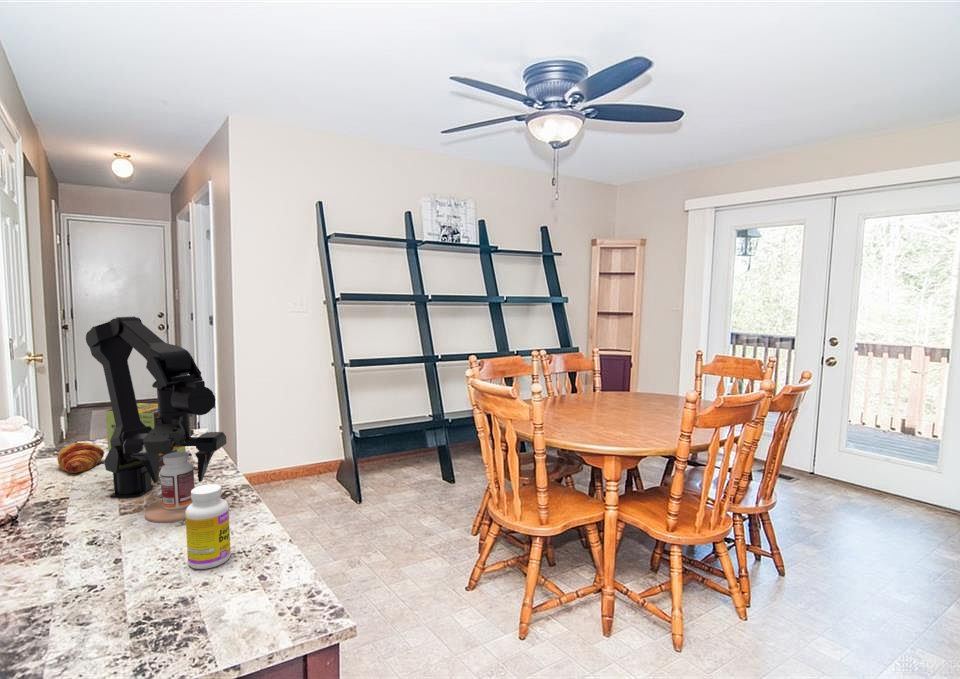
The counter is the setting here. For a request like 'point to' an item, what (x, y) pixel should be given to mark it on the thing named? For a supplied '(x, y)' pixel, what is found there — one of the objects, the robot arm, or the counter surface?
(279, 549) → the counter surface
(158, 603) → the counter surface
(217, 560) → the supplement bottle
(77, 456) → the croissant
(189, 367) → the robot arm
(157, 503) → the terracotta plate
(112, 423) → the protein box
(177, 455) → the pill bottle
